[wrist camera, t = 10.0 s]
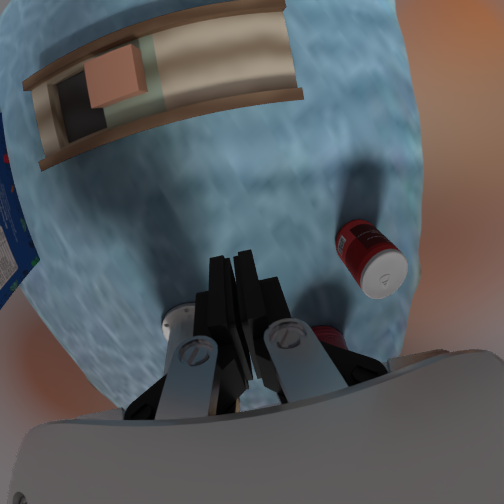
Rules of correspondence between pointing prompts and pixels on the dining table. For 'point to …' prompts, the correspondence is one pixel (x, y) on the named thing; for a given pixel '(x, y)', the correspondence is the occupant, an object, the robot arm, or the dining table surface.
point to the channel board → (169, 75)
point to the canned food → (371, 259)
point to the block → (115, 76)
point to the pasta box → (12, 231)
